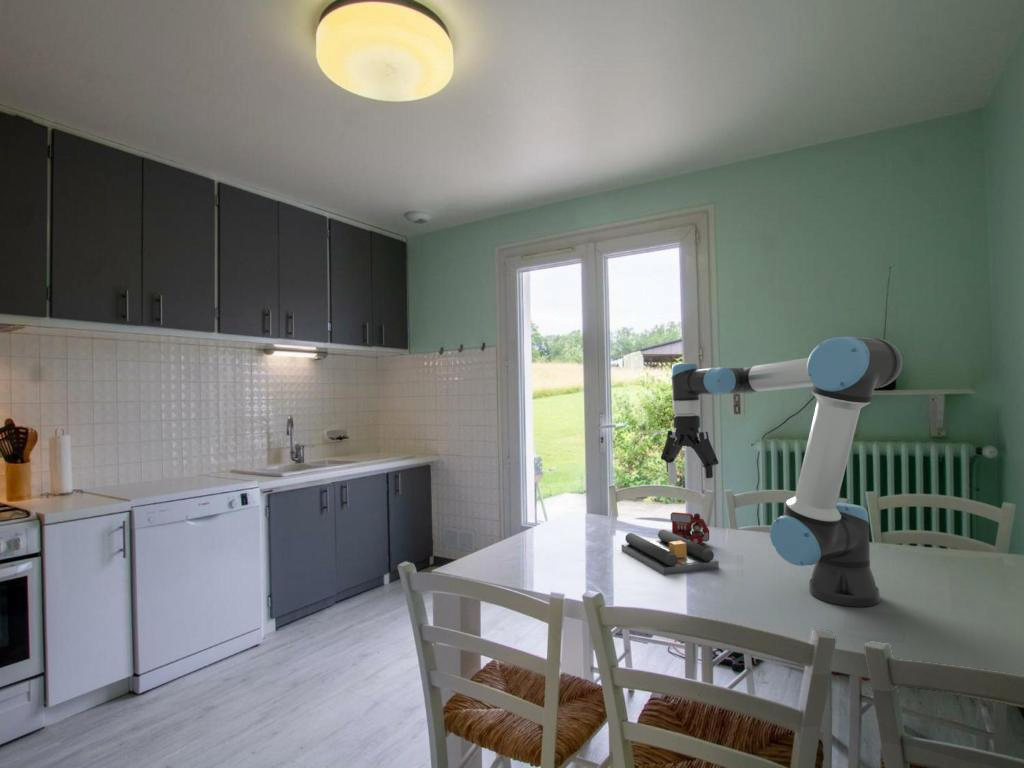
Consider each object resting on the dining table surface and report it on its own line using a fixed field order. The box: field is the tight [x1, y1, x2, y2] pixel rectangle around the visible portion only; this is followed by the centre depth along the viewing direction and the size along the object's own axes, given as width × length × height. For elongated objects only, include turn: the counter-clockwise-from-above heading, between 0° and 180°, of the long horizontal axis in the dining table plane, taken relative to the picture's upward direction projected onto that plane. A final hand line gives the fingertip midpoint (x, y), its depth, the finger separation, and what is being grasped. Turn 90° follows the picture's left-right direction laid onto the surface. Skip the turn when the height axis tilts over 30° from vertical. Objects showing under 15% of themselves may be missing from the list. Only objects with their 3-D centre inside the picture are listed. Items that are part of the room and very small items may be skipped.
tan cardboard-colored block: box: [669, 541, 687, 558], centre depth 167 cm, size 3×4×4 cm
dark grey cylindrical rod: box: [657, 529, 715, 561], centre depth 175 cm, size 28×4×4 cm, turn 16°
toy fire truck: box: [670, 511, 710, 546], centre depth 189 cm, size 7×12×10 cm, turn 64°
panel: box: [621, 539, 720, 576], centre depth 173 cm, size 26×18×2 cm
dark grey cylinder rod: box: [625, 532, 678, 566], centre depth 171 cm, size 28×4×4 cm, turn 16°
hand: (689, 486), depth 166 cm, fingers open, 13 cm apart
